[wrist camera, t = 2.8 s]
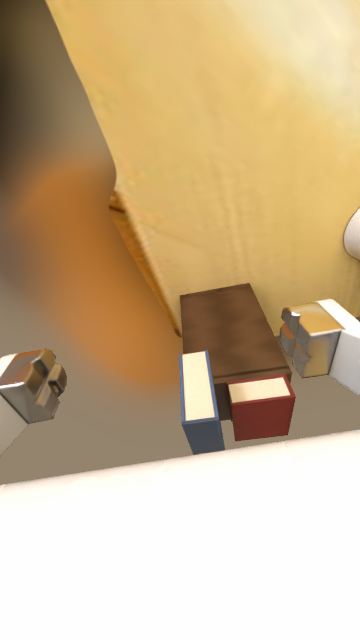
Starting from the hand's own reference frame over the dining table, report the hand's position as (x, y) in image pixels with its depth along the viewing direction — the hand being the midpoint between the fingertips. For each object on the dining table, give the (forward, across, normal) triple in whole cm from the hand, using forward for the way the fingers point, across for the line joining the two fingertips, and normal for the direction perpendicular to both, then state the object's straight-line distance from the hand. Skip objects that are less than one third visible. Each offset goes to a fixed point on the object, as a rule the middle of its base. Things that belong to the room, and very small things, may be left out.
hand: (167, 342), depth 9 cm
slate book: (+19, -1, +28) cm, 33 cm away
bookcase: (+45, -8, +29) cm, 54 cm away
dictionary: (+18, -10, +31) cm, 38 cm away
